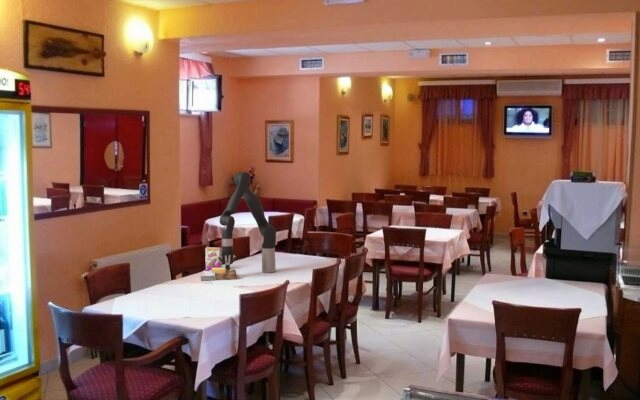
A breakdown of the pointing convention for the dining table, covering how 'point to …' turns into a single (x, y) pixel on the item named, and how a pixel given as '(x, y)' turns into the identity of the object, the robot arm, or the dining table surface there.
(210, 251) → the candy bar box
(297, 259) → the dining table surface
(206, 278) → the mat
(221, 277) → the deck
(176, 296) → the dining table surface
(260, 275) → the dining table surface
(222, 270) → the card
